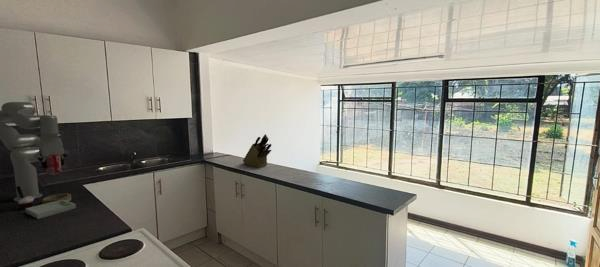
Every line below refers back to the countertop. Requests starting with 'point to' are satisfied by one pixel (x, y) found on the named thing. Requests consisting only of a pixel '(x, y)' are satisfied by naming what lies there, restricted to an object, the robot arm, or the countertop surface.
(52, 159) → the soda can
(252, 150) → the knife block
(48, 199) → the can holder
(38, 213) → the tray
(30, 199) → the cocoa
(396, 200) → the countertop surface
